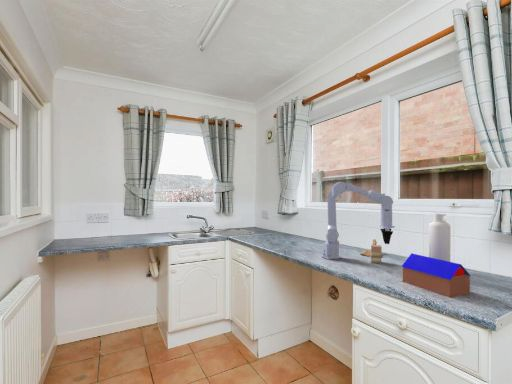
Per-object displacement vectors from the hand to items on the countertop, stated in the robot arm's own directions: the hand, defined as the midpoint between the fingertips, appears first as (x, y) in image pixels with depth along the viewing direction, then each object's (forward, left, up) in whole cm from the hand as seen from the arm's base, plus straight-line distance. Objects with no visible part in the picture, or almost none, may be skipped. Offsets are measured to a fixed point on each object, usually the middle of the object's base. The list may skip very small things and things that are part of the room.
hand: (386, 242), depth 152 cm
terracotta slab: (-6, +1, -4) cm, 8 cm away
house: (-14, -39, -11) cm, 43 cm away
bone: (+6, +17, -11) cm, 21 cm away
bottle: (+2, -29, -11) cm, 31 cm away
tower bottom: (-6, +1, -10) cm, 12 cm away
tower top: (-6, +1, -8) cm, 10 cm away
